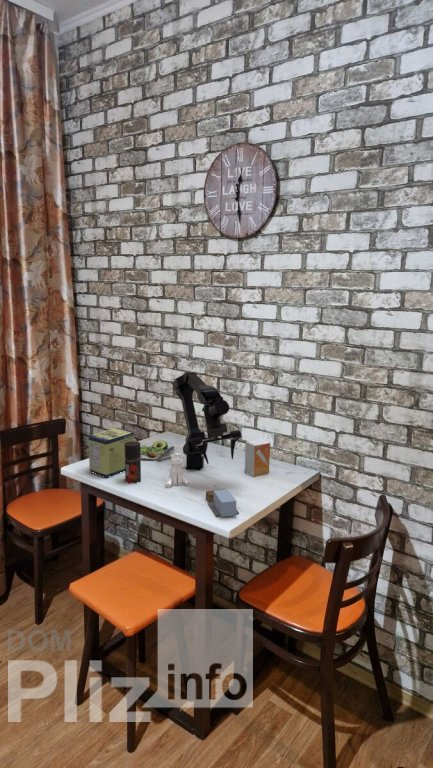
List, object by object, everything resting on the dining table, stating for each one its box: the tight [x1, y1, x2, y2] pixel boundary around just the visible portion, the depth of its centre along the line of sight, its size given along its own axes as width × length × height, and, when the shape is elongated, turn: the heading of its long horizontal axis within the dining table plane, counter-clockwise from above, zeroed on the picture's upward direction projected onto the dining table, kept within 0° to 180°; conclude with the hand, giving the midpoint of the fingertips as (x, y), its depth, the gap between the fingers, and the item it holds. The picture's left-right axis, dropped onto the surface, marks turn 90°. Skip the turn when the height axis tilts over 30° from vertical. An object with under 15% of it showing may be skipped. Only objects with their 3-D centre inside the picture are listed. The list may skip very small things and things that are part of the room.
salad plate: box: [140, 440, 175, 462], centre depth 232 cm, size 19×18×5 cm
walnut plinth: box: [205, 488, 226, 504], centre depth 186 cm, size 4×7×3 cm, turn 106°
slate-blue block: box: [213, 488, 237, 518], centre depth 177 cm, size 5×5×10 cm
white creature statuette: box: [164, 452, 191, 489], centre depth 200 cm, size 10×9×12 cm
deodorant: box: [124, 440, 142, 484], centre depth 201 cm, size 6×6×15 cm
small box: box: [244, 438, 271, 477], centre depth 212 cm, size 8×6×13 cm
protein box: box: [88, 427, 135, 478], centre depth 212 cm, size 10×16×16 cm
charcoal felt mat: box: [207, 502, 240, 518], centre depth 179 cm, size 10×8×1 cm
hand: (220, 461), depth 194 cm, fingers open, 9 cm apart
